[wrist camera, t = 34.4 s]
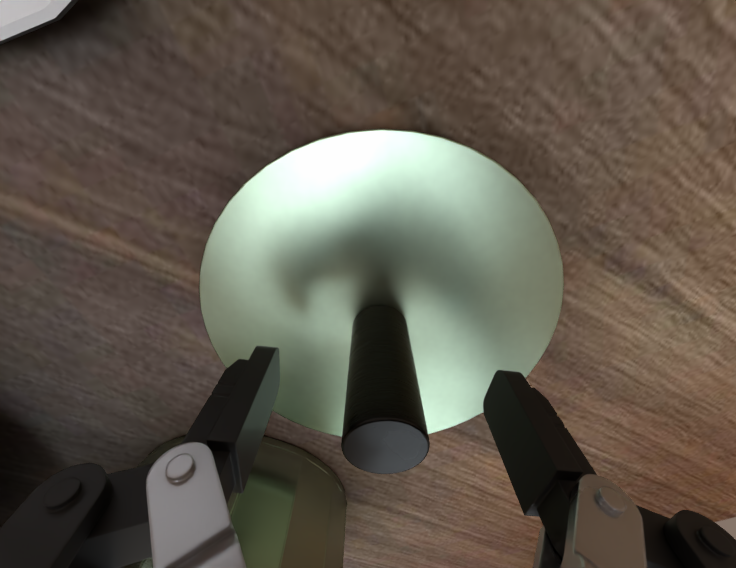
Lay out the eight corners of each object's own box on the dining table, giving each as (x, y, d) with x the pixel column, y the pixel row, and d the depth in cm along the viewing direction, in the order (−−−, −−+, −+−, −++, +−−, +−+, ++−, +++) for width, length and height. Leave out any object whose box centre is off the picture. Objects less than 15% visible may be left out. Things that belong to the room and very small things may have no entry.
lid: (488, 434, 19) (546, 583, 13) (228, 412, 18) (154, 559, 12) (620, 158, 11) (925, 191, 5) (182, 99, 11) (-90, 53, 4)
